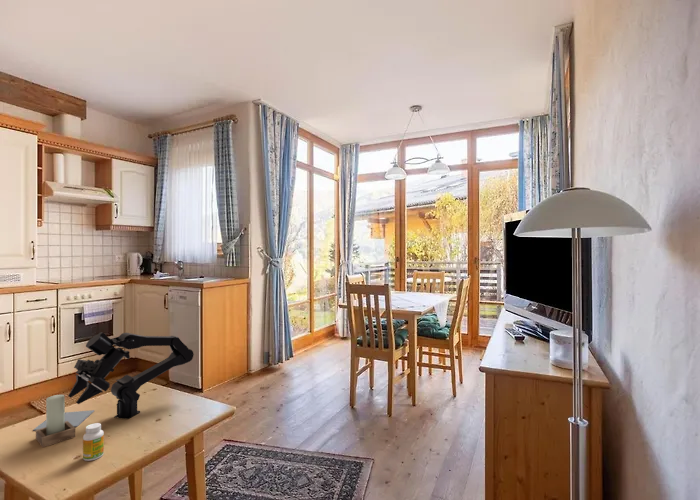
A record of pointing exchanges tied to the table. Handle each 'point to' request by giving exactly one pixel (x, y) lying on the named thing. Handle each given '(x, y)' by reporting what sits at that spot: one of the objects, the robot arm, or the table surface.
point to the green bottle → (55, 414)
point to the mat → (71, 418)
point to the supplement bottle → (93, 442)
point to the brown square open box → (55, 435)
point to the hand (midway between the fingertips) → (73, 400)
